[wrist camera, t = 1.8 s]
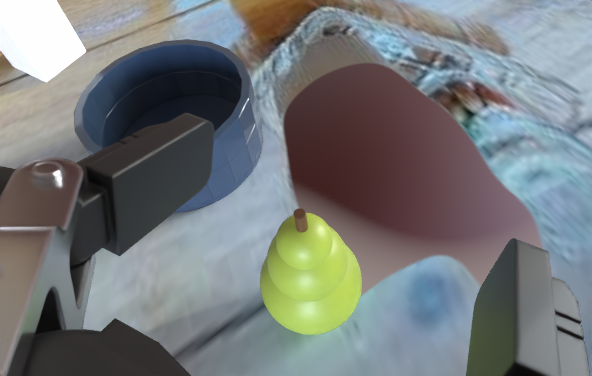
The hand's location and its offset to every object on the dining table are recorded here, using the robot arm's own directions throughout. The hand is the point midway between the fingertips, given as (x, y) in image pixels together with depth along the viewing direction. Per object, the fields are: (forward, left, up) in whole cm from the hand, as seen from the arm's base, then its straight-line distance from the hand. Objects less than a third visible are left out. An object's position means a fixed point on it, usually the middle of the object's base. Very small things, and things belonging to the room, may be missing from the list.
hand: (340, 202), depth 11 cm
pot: (+13, -20, -19) cm, 30 cm away
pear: (+2, -5, -19) cm, 20 cm away
